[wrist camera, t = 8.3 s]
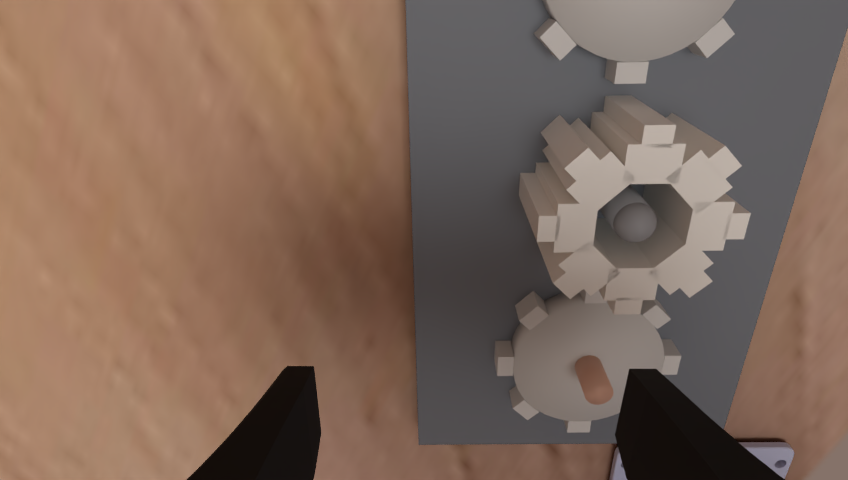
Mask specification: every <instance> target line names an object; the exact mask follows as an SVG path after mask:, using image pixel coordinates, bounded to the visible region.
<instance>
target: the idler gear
mask: <svg viewBox="0 0 848 480" xmlns="http://www.w3.org/2000/svg"><path fill="white" fill-rule="evenodd" d="M541 134H542V135H543V137H544V139H545V140H546V142H547V143H548V146H547V147H545V148H544V149H543V150H542V151H543V152H544V154H545V156H546V157H547V159H548V161H549V162H545V163H536V170H535V173H520V184H519V197H520V200H521V202H522V205H523V207H524V210H525V213H526V215H527V218H528V220H529V223H530V225H531V228H532V231H533V233H534V236H535V238H536V241H537V244H538V246H539V249H540V251H541V254H542V257H543V259H544V262H545V264H546V267H547V270H548V272H549V275H550V277H551V280H552V282H553V284H554V285H555V286H556V287H557V288H559V289H560V290H561V291H562V292H563V293H564V294H565V295H566V296H567V297H568V298H569V299H571V298H572V297H574V296H575V295H576V294H577V293H579V292H580V291H581V290H583V289H584V290H585V291H586V292H587V293H588V294H589V295H590V296H591V295H593V294H594V293H595V292H597V291H598V290H599V292H600V294H601V296H602V298H603V299H604V301H607V303H608V305H609V307H610V309H611V310H612V312H613V314H614V315H615V314H640V313H641V308H642V302H643V300H655V296H656V291H657V286H658V284H659V285H660V286H661V287H662V288H663V289H664V290H665V291H666V292H667V293H668V294H669V295H671V294H672V293H673V292H675V291H676V290H678V289H679V288H680V289H681V290H682V291H683V292H684V293H685V294H686V295H687V296H688V297H689V298H690V297H691V296H693V295H694V294H696V293H697V292H699V291H700V290H701V289H703V288H704V287H706V286H707V285H708V284H710V283H711V282H713V281H712V280H711V279H710V278H709V276H708V275H707V274H706V273H705V272H704V270H705V269H707V268H708V267H709V266H711V265H712V264H714V263H713V262H712V261H711V260H710V259H709V258H708V257H707V256H706V254H705V253H704V252H703V251H723V249H724V245H725V241H726V239H744V237H745V233H746V229H747V226H748V222H749V218H750V215H751V213H750V212H749V211H747V210H746V209H745V208H744V207H742V206H741V205H740V204H738V203H737V202H736V201H735V200H733V199H732V198H731V197H729V196H728V195H727V194H725V193H726V192H727V191H729V190H730V189H731V188H733V187H732V186H731V185H730V184H729V182H728V181H727V180H726V178H727V177H729V176H730V175H731V174H732V173H734V172H735V171H736V170H738V169H739V168H740V167H741V166H742V165H741V164H740V163H739V162H738V160H737V159H736V158H735V157H734V156H733V154H732V153H731V152H730V151H729V149H728V148H727V147H726V146H725V145H724V144H722V143H720V142H719V141H717V140H716V139H714V138H712V137H711V136H709V135H707V134H706V133H704V132H703V131H701V130H699V129H698V128H696V127H694V126H693V125H691V124H690V123H688V122H686V121H685V120H683V119H681V118H680V117H678V116H676V115H675V114H673V113H671V114H670V115H669V116H668V117H666V118H665V117H664V116H662V115H661V114H659V113H658V112H656V111H654V110H653V109H651V108H650V107H648V106H647V105H645V104H644V103H642V102H641V101H639V100H638V99H636V98H635V97H633V96H631V95H621V96H605V103H604V111H603V112H592V118H591V126H590V129H589V128H588V127H587V126H586V125H585V124H584V123H583V122H582V121H581V120H580V119H579V118H577V119H576V120H575V121H574V122H573V123H572V124H571V125H569V124H568V123H567V122H566V121H565V120H564V119H563V118H562V116H561V115H559V116H558V117H557V118H555V119H554V120H553V121H552V122H551V123H550V124H549V125H548V126H547V127H546V128H545V129H544V130H542V131H541ZM630 184H645V186H644V192H643V197H642V198H643V199H644V200H645V201H646V202H647V203H648V205H649V206H650V207H651V208H652V209H653V211H654V212H655V214H656V218H657V225H656V229H655V231H654V233H653V234H652V235H651V236H650V237H649V238H648V239H646V240H644V241H641V242H635V243H633V242H627V241H625V240H623V239H621V238H620V237H619V236H618V235H617V234H616V233H615V231H614V230H613V229H612V227H611V226H610V224H609V223H608V221H607V220H606V218H597V213H598V210H599V209H600V208H602V207H603V206H604V205H605V204H607V203H608V202H609V201H610V200H611V199H613V198H614V197H615V196H616V195H617V194H619V193H620V192H621V191H622V190H623V189H625V188H626V187H627V186H628V185H630Z"/></svg>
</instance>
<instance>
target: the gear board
mask: <svg viewBox="0 0 848 480" xmlns="http://www.w3.org/2000/svg"><path fill="white" fill-rule="evenodd" d="M847 28H848V0H406V31H407V65H408V99H409V133H410V166H411V200H412V234H413V267H414V301H415V335H416V369H417V402H418V436H419V445H437V444H609V443H617V441H616V437H615V432H616V427H617V423H618V418H619V413H620V409H621V404H622V400H623V395H624V390H625V386H626V381H627V377H628V372H629V369H657V370H658V371H659V372H660V373H661V374H663V375H664V376H665V377H666V378H667V379H668V380H669V381H670V382H671V383H673V384H674V385H675V386H676V387H677V388H678V389H679V390H680V391H681V392H682V393H683V394H685V395H686V396H687V397H688V398H689V399H690V400H691V401H692V402H693V403H694V404H695V405H697V406H698V407H699V408H700V409H701V410H702V411H703V412H704V413H705V414H706V415H708V416H709V417H710V418H711V419H712V420H713V421H714V422H715V423H717V424H718V425H719V426H720V427H721V428H722V429H724V426H725V423H726V420H727V416H728V413H729V410H730V407H731V404H732V400H733V397H734V394H735V391H736V387H737V384H738V381H739V378H740V374H741V371H742V368H743V365H744V361H745V358H746V355H747V352H748V348H749V345H750V342H751V339H752V335H753V332H754V329H755V326H756V323H757V319H758V316H759V313H760V310H761V306H762V303H763V300H764V297H765V293H766V290H767V287H768V284H769V280H770V277H771V274H772V271H773V267H774V264H775V261H776V258H777V254H778V251H779V248H780V245H781V242H782V238H783V235H784V232H785V229H786V225H787V222H788V219H789V216H790V212H791V209H792V206H793V203H794V199H795V196H796V193H797V190H798V186H799V183H800V180H801V177H802V173H803V170H804V167H805V164H806V161H807V157H808V154H809V151H810V148H811V144H812V141H813V138H814V135H815V131H816V128H817V125H818V122H819V118H820V115H821V112H822V109H823V105H824V102H825V99H826V96H827V92H828V89H829V86H830V83H831V80H832V76H833V73H834V70H835V67H836V63H837V60H838V57H839V54H840V50H841V47H842V44H843V41H844V37H845V34H846V31H847ZM621 95H631V96H633V97H635V98H636V99H638V100H639V101H641V102H642V103H644V104H645V105H647V106H648V107H650V108H651V109H653V110H654V111H656V112H658V113H659V114H661V115H662V116H664V117H665V118H666V117H668V116H669V115H670V114H671V113H673V114H675V115H676V116H678V117H680V118H681V119H683V120H685V121H686V122H688V123H690V124H691V125H693V126H694V127H696V128H698V129H699V130H701V131H703V132H704V133H706V134H707V135H709V136H711V137H712V138H714V139H716V140H717V141H719V142H720V143H722V144H724V145H725V146H726V147H727V148H728V149H729V151H730V152H731V153H732V154H733V156H734V157H735V158H736V159H737V160H738V162H739V163H740V164H741V165H742V166H741V167H740V168H739V169H738V170H736V171H735V172H734V173H732V174H731V175H730V176H729V177H727V178H726V180H727V181H728V182H729V184H730V185H731V186H732V187H733V188H731V189H730V190H729V191H727V192H726V193H725V194H727V195H728V196H729V197H731V198H732V199H733V200H735V201H736V202H737V203H738V204H740V205H741V206H742V207H744V208H745V209H746V210H747V211H749V212H750V213H751V215H750V218H749V222H748V226H747V229H746V233H745V237H744V239H726V241H725V245H724V249H723V251H703V252H704V253H705V254H706V256H707V257H708V258H709V259H710V260H711V261H712V262H713V263H714V264H712V265H711V266H709V267H708V268H707V269H705V270H704V272H705V273H706V274H707V275H708V276H709V278H710V279H711V280H712V281H713V282H711V283H710V284H708V285H707V286H706V287H704V288H703V289H701V290H700V291H699V292H697V293H696V294H694V295H693V296H691V297H690V298H689V297H688V296H687V295H686V294H685V293H684V292H683V291H682V290H681V289H680V288H679V289H678V290H676V291H675V292H673V293H672V294H671V295H669V294H668V293H667V292H666V291H665V290H664V289H663V288H662V287H661V286H660V285H659V284H658V286H657V291H656V296H655V300H643V302H642V308H641V313H640V314H615V315H614V314H613V312H612V310H611V309H610V307H609V305H608V303H607V301H604V299H603V298H602V296H601V294H600V292H599V290H598V291H597V292H595V293H594V294H593V295H591V296H590V295H589V294H588V293H587V292H586V291H585V290H584V289H583V290H581V291H580V292H579V293H577V294H576V295H575V296H574V297H572V298H571V299H569V298H568V297H567V296H566V295H565V294H564V293H563V292H562V291H561V290H560V289H559V288H557V287H556V286H555V285H554V284H553V282H552V280H551V277H550V275H549V272H548V270H547V267H546V264H545V262H544V259H543V257H542V254H541V251H540V249H539V246H538V244H537V241H536V238H535V236H534V233H533V231H532V228H531V225H530V223H529V220H528V218H527V215H526V213H525V210H524V207H523V205H522V202H521V200H520V197H519V184H520V173H535V170H536V163H545V162H549V161H548V159H547V157H546V156H545V154H544V152H543V151H542V150H543V149H544V148H545V147H547V146H548V143H547V142H546V140H545V139H544V137H543V135H542V134H541V131H542V130H544V129H545V128H546V127H547V126H548V125H549V124H550V123H551V122H552V121H553V120H554V119H555V118H557V117H558V116H559V115H561V116H562V118H563V119H564V120H565V121H566V122H567V123H568V124H569V125H571V124H572V123H573V122H574V121H575V120H576V119H577V118H579V119H580V120H581V121H582V122H583V123H584V124H585V125H586V126H587V127H588V128H589V129H590V126H591V118H592V112H603V111H604V103H605V96H621ZM644 186H645V184H630V185H628V186H627V187H626V188H625V189H623V190H622V191H621V192H620V193H619V194H617V195H616V196H615V197H614V198H613V199H611V200H610V201H609V202H608V203H607V204H605V205H604V206H603V207H602V208H600V209H599V210H598V213H597V218H606V220H607V221H608V223H609V224H610V226H611V227H612V229H613V230H614V231H615V233H616V234H617V235H618V236H619V237H620V238H621V239H623V240H625V241H627V242H633V243H635V242H641V241H644V240H646V239H648V238H649V237H650V236H651V235H652V234H653V233H654V231H655V229H656V225H657V218H656V214H655V212H654V211H653V209H652V208H651V207H650V206H649V205H648V203H647V202H646V201H645V200H644V199H643V198H642V197H643V192H644Z"/></svg>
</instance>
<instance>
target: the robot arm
mask: <svg viewBox="0 0 848 480" xmlns="http://www.w3.org/2000/svg"><path fill="white" fill-rule="evenodd" d="M320 437H321V427H320V418H319V409H318V400H317V391H316V382H315V373H314V366H287V367H286V368H285V369H284V370H283V371H282V372H281V373H280V375H279V376H278V377H277V379H276V380H275V381H274V382H273V384H272V385H271V386H270V388H269V389H268V390H267V391H266V393H265V394H264V395H263V396H262V398H261V399H260V400H259V401H258V403H257V404H256V405H255V406H254V408H253V409H252V410H251V411H250V412H249V413H248V415H247V416H246V417H245V418H244V419H243V420H242V422H241V423H240V424H239V425H238V426H237V427H236V429H235V430H234V431H233V432H232V433H231V434H230V435H229V437H228V438H227V439H226V440H225V441H224V442H223V443H222V444H221V445H220V446H219V447H218V448H217V449H216V450H215V451H214V453H213V454H212V455H211V456H210V457H209V458H208V459H207V460H206V461H205V462H204V463H203V464H202V465H201V466H200V467H199V468H198V469H197V470H196V471H195V472H194V473H193V474H192V475H191V476H190V477H189V478H188V479H187V480H313V479H314V474H315V468H316V462H317V456H318V450H319V443H320ZM615 437H616V441H617V445H618V447H617V448H616V450H615V453H614V458H613V463H612V469H611V474H610V479H609V480H785V477H786V474H787V472H788V469H789V467H790V464H791V461H792V459H793V456H794V451H793V449H792V448H791V446H790V445H789V444H788V443H785V442H737V441H736V440H735V439H734V438H733V437H731V436H730V435H729V434H728V433H727V432H726V431H725V430H723V429H722V428H721V427H720V426H719V425H718V424H717V423H715V422H714V421H713V420H712V419H711V418H710V417H709V416H708V415H706V414H705V413H704V412H703V411H702V410H701V409H700V408H699V407H698V406H697V405H695V404H694V403H693V402H692V401H691V400H690V399H689V398H688V397H687V396H686V395H685V394H683V393H682V392H681V391H680V390H679V389H678V388H677V387H676V386H675V385H674V384H673V383H671V382H670V381H669V380H668V379H667V378H666V377H665V376H664V375H663V374H661V373H660V372H659V371H658V370H657V369H629V372H628V377H627V381H626V386H625V390H624V395H623V400H622V404H621V409H620V413H619V418H618V423H617V427H616V432H615Z"/></svg>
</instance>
